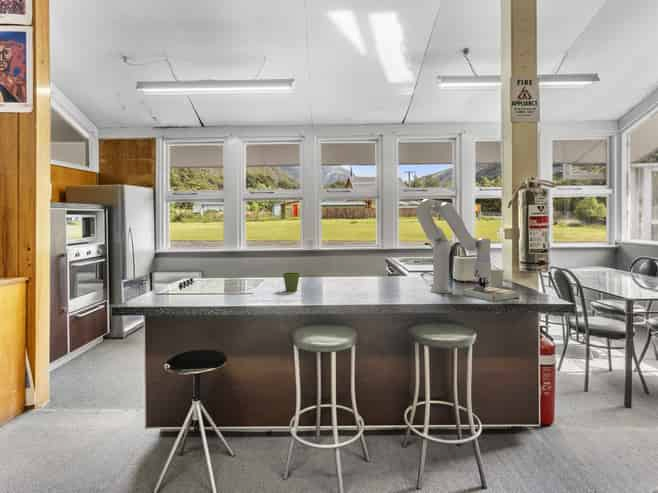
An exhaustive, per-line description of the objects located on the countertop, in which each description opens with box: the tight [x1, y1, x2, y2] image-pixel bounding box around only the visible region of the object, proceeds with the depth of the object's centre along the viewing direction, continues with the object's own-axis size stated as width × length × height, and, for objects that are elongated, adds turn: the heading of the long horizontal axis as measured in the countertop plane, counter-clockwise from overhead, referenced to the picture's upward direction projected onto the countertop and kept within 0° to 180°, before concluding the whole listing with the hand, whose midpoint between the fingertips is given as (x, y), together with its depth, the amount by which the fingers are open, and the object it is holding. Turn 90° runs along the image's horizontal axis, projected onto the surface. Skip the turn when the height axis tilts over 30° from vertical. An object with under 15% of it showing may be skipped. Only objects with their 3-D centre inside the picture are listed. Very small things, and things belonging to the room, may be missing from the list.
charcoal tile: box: [473, 284, 484, 293], centre depth 248 cm, size 5×5×2 cm
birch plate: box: [484, 286, 518, 300], centre depth 247 cm, size 20×11×3 cm, turn 29°
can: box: [488, 267, 504, 288], centre depth 278 cm, size 9×9×12 cm
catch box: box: [462, 287, 507, 303], centre depth 242 cm, size 22×11×4 cm, turn 29°
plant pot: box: [282, 271, 302, 292], centre depth 266 cm, size 12×12×11 cm
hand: (482, 288), depth 250 cm, fingers closed
